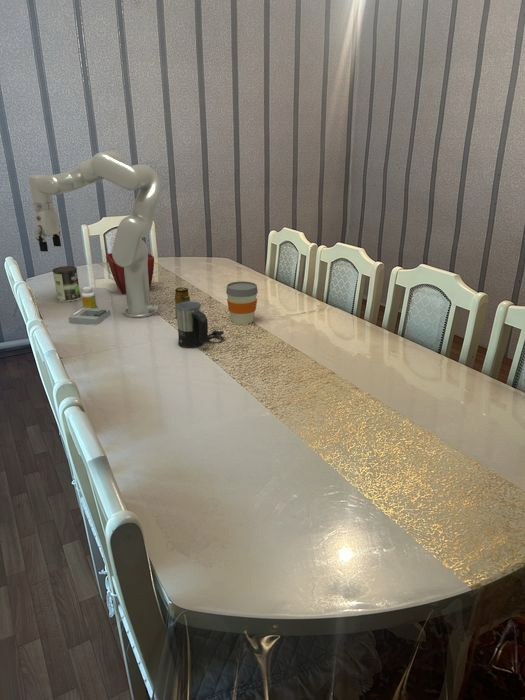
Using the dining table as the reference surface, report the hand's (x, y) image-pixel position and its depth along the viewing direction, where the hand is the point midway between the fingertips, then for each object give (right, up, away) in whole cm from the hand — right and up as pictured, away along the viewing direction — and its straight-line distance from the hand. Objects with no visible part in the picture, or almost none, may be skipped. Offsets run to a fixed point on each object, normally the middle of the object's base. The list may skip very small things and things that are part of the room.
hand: (51, 248), depth 217 cm
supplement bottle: (+14, -25, +8) cm, 30 cm away
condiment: (+56, -29, -1) cm, 63 cm away
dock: (+18, -30, -3) cm, 35 cm away
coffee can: (-1, -19, +22) cm, 29 cm away
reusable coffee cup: (+80, -31, -5) cm, 86 cm away
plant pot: (+26, -13, +35) cm, 45 cm away
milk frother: (+66, -39, -25) cm, 81 cm away
